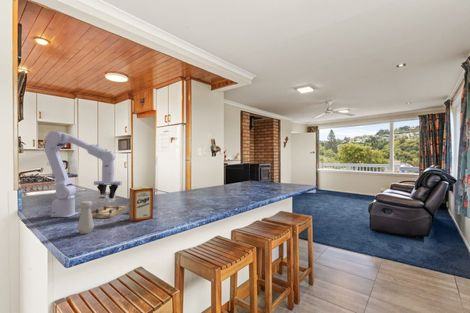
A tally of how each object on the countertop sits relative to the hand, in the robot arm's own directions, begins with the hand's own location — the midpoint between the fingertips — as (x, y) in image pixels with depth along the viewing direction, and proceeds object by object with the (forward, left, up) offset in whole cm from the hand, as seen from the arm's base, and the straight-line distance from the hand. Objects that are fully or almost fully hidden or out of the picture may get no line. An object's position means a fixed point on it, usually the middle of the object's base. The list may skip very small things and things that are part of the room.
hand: (107, 198), depth 122 cm
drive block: (0, -1, -2) cm, 2 cm away
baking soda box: (+22, -8, -9) cm, 25 cm away
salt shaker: (+8, -29, -9) cm, 31 cm away
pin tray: (0, 0, -8) cm, 8 cm away
